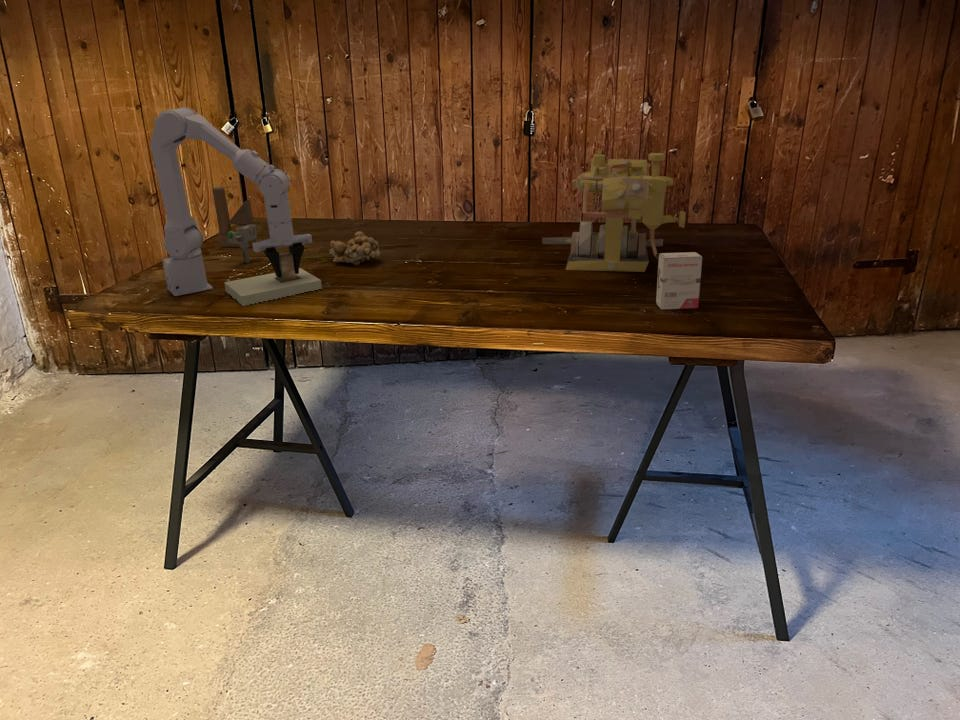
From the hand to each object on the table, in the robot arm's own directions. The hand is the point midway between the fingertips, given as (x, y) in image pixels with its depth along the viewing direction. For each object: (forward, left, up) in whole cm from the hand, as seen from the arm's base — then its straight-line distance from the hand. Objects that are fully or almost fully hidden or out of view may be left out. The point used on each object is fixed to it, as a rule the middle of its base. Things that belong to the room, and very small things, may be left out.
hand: (287, 274), depth 181 cm
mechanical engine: (+77, -36, -4) cm, 85 cm away
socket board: (-4, 0, -3) cm, 5 cm away
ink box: (+65, -70, -4) cm, 96 cm away
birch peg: (0, 0, -3) cm, 3 cm away
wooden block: (+3, +52, -4) cm, 52 cm away
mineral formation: (+24, +10, -4) cm, 26 cm away
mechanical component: (-1, +31, -4) cm, 31 cm away
